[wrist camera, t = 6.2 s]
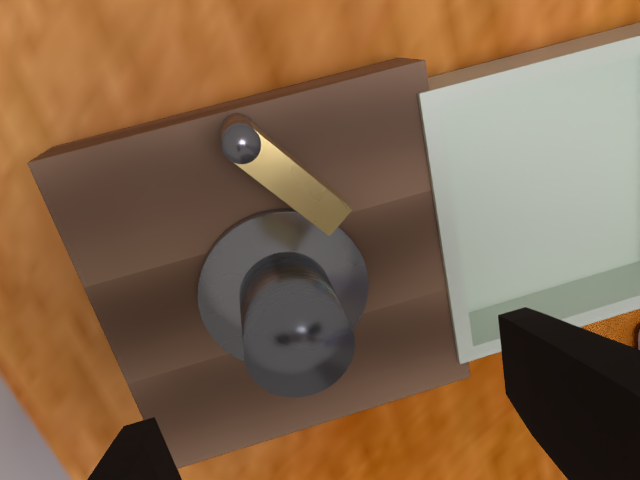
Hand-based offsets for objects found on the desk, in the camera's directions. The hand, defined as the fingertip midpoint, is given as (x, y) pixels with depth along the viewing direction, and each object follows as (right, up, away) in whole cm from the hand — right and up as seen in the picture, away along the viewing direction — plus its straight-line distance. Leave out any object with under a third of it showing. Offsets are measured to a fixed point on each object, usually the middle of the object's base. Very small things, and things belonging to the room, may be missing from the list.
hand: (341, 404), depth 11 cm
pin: (-2, +3, +9) cm, 10 cm away
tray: (+8, +6, +10) cm, 14 cm away
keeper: (-2, +6, +5) cm, 8 cm away
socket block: (-2, +3, +9) cm, 10 cm away
